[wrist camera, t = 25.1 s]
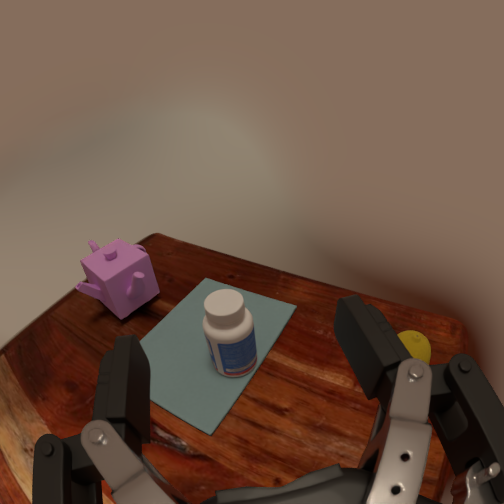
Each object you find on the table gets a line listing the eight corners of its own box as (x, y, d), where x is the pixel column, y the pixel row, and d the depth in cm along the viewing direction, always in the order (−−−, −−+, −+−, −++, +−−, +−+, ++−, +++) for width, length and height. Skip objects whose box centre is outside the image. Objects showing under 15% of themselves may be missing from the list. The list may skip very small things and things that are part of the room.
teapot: (73, 300, 45) (52, 254, 40) (128, 265, 54) (114, 220, 48) (122, 353, 35) (94, 299, 30) (188, 302, 44) (175, 247, 39)
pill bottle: (265, 353, 35) (262, 293, 29) (242, 385, 31) (232, 329, 26) (228, 338, 37) (218, 278, 32) (203, 366, 33) (186, 308, 28)
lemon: (404, 406, 26) (431, 365, 22) (365, 385, 29) (383, 341, 25) (422, 373, 29) (446, 329, 25) (386, 354, 33) (403, 309, 28)
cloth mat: (296, 307, 42) (296, 305, 41) (211, 436, 26) (210, 435, 26) (206, 279, 49) (205, 277, 48) (111, 371, 33) (110, 370, 33)
